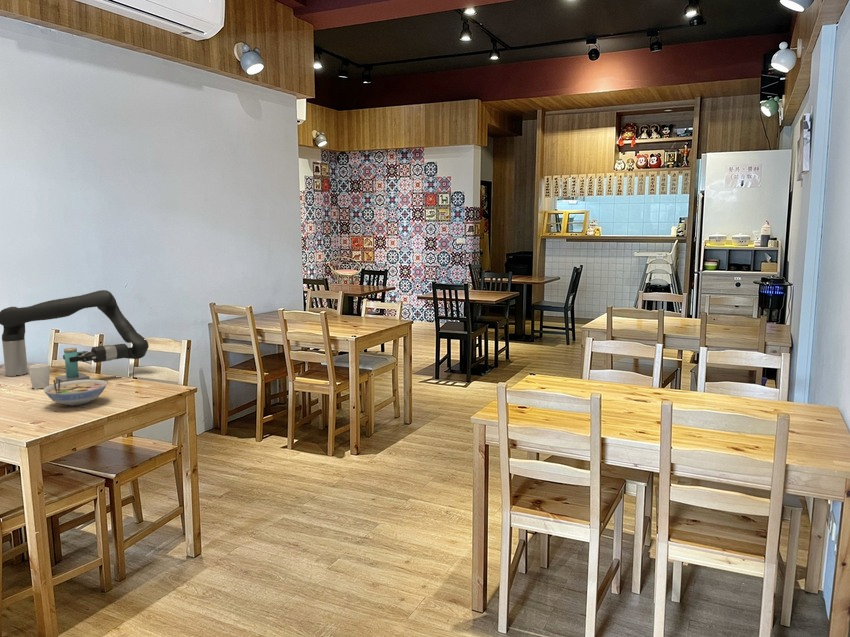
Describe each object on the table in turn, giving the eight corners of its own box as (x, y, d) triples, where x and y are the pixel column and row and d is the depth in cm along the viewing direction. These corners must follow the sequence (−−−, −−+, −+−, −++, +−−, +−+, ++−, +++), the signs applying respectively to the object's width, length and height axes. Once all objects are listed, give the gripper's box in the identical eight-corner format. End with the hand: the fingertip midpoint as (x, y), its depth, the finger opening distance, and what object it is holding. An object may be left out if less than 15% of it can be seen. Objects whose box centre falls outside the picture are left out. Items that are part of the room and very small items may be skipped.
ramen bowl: (110, 407, 247) (109, 387, 246) (43, 415, 236) (41, 394, 235) (107, 393, 269) (105, 374, 268) (45, 400, 258) (43, 381, 256)
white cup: (55, 385, 283) (53, 363, 281) (42, 389, 275) (40, 367, 273) (38, 385, 283) (37, 363, 282) (26, 389, 276) (24, 367, 274)
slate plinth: (55, 384, 285) (55, 376, 284) (81, 380, 292) (81, 372, 292) (63, 388, 277) (63, 380, 277) (90, 383, 285) (89, 376, 285)
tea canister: (64, 376, 284) (62, 348, 282) (76, 374, 288) (74, 347, 286) (68, 378, 281) (65, 350, 279) (80, 376, 285) (78, 348, 283)
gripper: (98, 343, 298) (60, 348, 286) (109, 347, 288) (71, 352, 276) (99, 359, 299) (61, 364, 287) (110, 363, 289) (72, 369, 277)
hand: (66, 358), depth 282 cm, fingers open, 8 cm apart
